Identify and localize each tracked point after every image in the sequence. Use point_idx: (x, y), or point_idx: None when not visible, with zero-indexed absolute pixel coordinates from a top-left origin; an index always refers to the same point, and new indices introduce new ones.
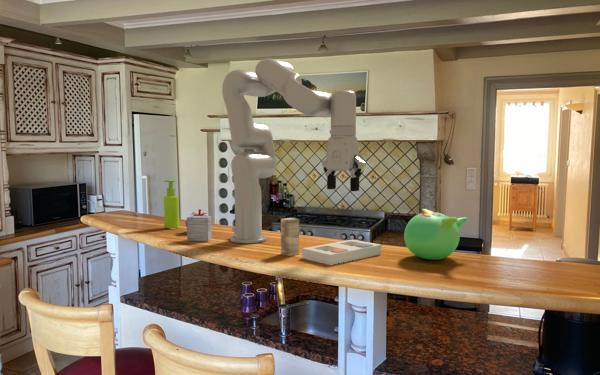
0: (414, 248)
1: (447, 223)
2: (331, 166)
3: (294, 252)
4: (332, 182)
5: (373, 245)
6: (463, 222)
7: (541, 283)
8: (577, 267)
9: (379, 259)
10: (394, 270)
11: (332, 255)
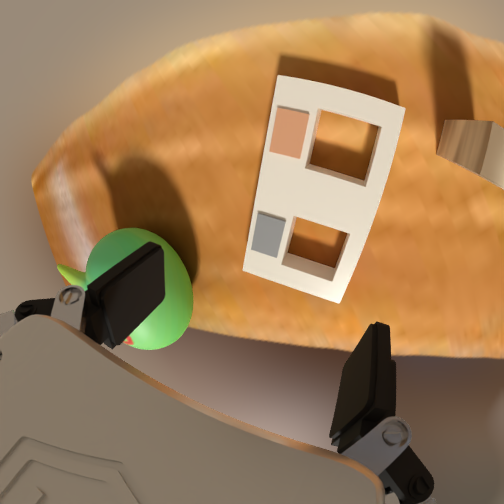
0: (147, 231)
1: (78, 271)
2: (255, 479)
3: (442, 138)
4: (352, 382)
5: (252, 253)
6: None
7: (54, 205)
8: None
9: (227, 208)
10: (159, 138)
11: (277, 82)
